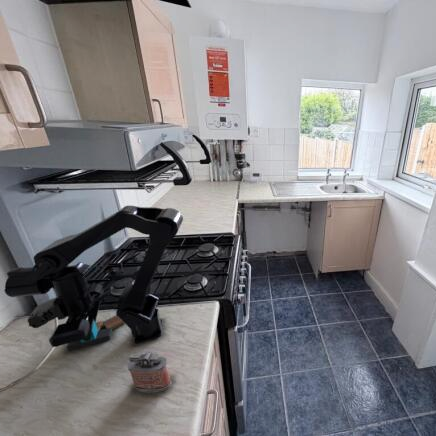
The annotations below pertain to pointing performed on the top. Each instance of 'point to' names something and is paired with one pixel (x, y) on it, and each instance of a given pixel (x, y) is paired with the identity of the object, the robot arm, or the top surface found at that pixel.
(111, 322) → the brown flat square block
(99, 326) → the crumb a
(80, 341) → the wiper
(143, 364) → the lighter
